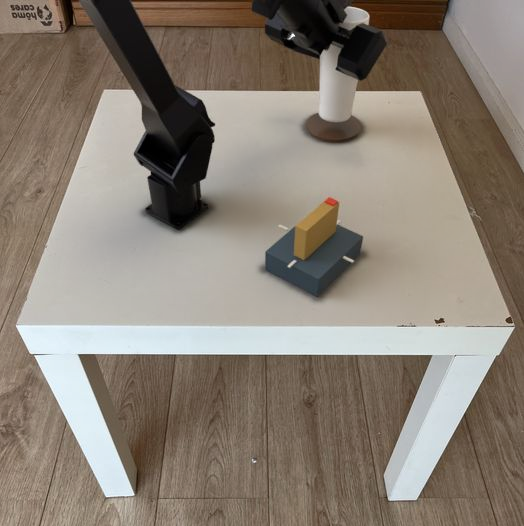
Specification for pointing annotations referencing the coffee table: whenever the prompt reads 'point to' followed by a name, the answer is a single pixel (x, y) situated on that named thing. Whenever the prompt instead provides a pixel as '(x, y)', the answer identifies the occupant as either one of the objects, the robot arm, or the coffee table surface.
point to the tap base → (313, 259)
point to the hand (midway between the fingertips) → (345, 65)
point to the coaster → (333, 129)
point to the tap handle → (316, 228)
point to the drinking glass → (338, 76)
